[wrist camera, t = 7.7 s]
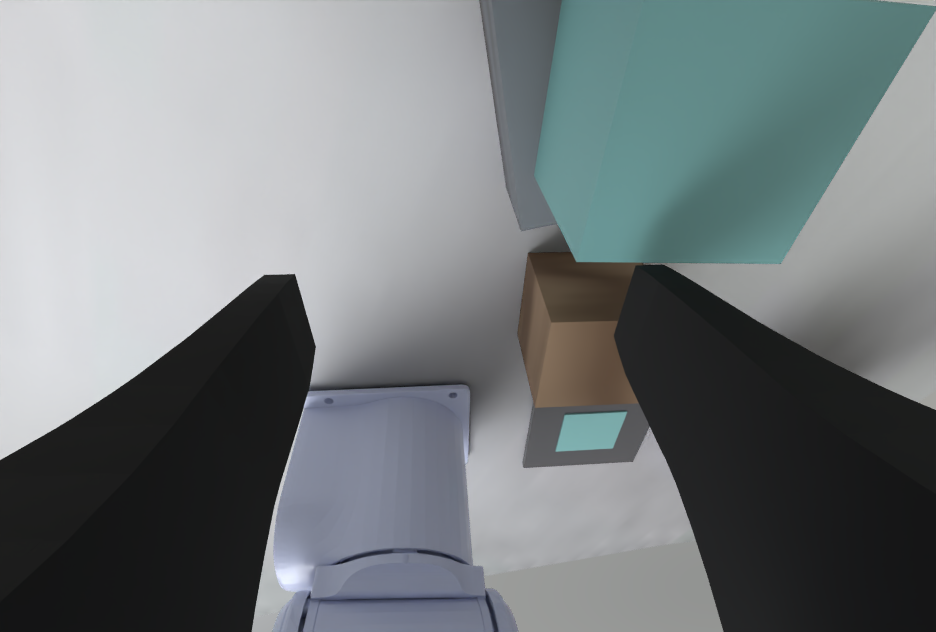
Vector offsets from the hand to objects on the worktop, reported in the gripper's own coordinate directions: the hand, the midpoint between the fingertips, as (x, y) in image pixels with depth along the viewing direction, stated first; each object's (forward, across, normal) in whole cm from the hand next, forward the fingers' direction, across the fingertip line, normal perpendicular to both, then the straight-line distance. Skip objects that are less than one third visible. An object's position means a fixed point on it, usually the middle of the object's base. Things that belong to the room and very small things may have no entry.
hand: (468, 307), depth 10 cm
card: (+9, -9, +18) cm, 22 cm away
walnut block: (+10, -6, +7) cm, 13 cm away
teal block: (+6, -5, -3) cm, 8 cm away
